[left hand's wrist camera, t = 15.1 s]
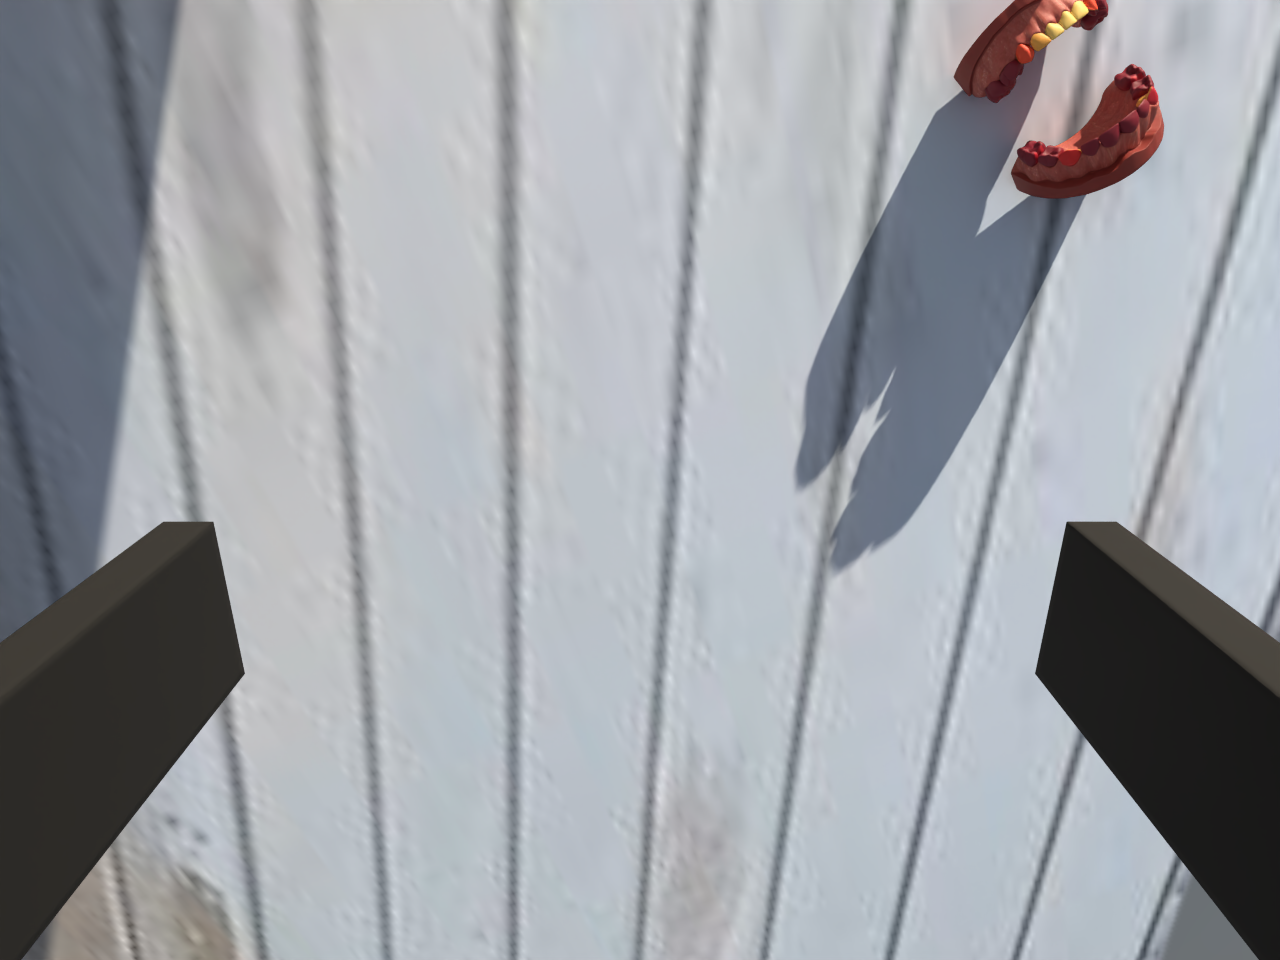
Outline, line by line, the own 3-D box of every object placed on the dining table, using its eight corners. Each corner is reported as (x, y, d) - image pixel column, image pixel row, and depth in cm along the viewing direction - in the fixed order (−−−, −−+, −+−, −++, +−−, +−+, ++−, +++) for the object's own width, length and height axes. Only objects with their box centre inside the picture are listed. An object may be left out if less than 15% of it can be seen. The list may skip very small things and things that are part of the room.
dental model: (1117, -78, 27) (1213, 125, 30) (1060, -51, 31) (1149, 126, 34) (970, 38, 29) (1072, 222, 31) (933, 49, 33) (1027, 213, 35)
